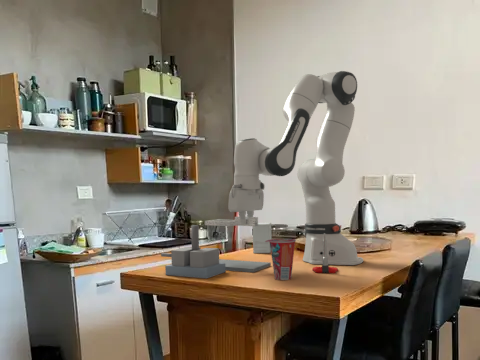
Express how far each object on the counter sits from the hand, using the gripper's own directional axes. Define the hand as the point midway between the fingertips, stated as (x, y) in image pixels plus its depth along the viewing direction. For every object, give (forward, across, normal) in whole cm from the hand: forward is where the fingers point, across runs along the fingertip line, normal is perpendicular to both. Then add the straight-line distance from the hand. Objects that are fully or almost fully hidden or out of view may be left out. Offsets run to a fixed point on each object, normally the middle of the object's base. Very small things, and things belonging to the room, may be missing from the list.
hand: (246, 224), depth 167 cm
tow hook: (+15, +6, -26) cm, 31 cm away
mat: (+16, +2, +6) cm, 17 cm away
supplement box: (+15, +40, +12) cm, 44 cm away
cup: (+16, -12, -18) cm, 27 cm away
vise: (+16, -14, +15) cm, 26 cm away
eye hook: (+1, 0, +5) cm, 5 cm away
